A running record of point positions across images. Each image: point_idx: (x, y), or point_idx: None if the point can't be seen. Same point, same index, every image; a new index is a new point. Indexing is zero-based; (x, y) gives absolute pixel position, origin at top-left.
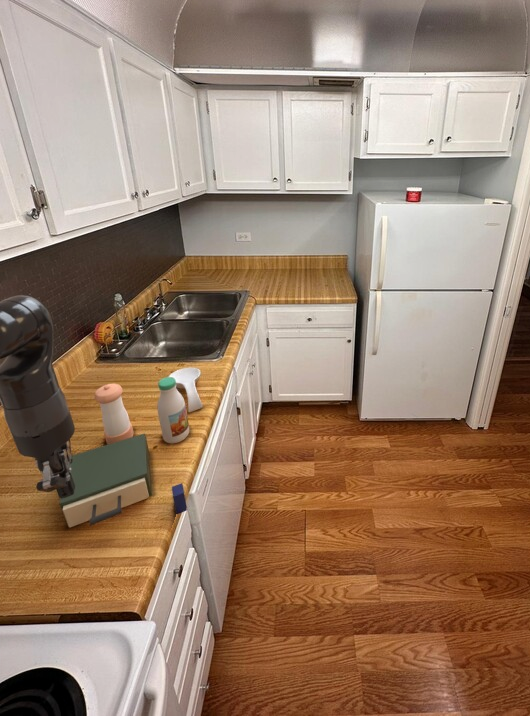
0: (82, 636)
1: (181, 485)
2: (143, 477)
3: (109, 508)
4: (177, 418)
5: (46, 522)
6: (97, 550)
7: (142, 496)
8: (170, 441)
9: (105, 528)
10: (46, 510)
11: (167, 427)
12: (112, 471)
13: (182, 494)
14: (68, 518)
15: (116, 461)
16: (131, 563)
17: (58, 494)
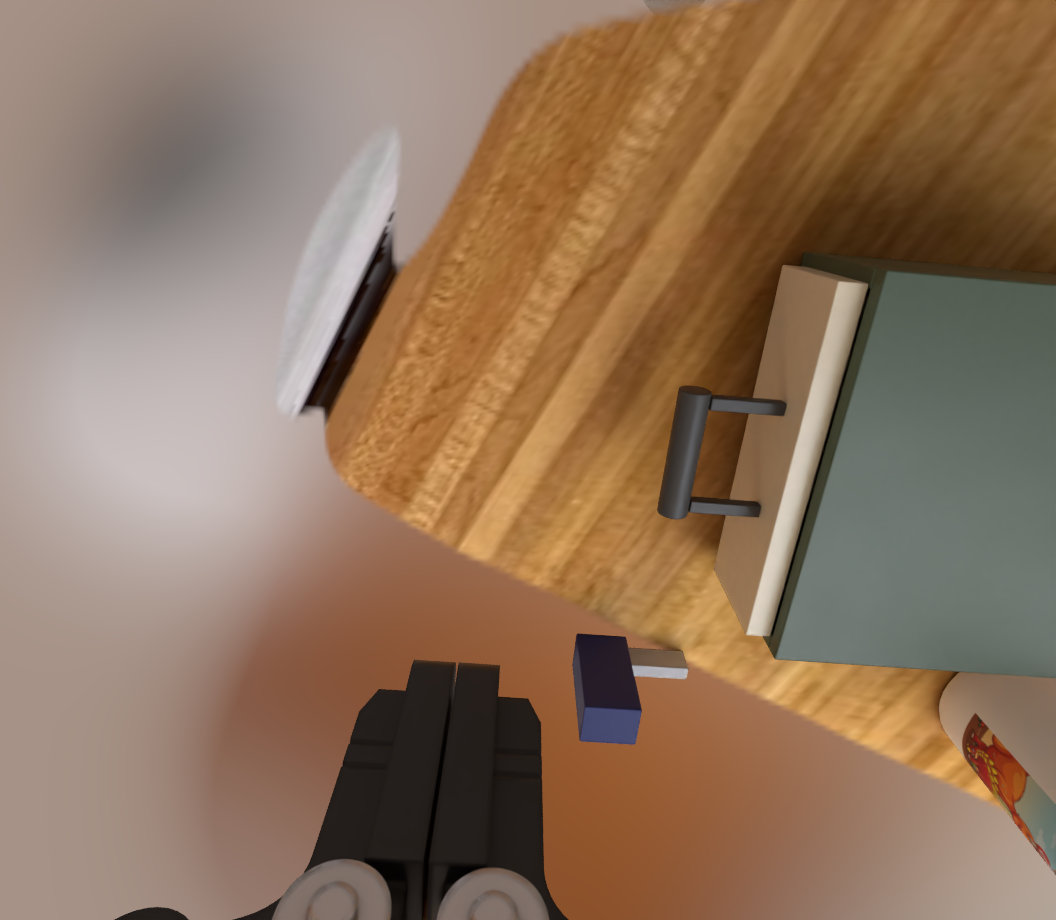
0: (293, 324)
1: (623, 740)
2: None
3: (752, 439)
4: (1036, 835)
5: (906, 148)
6: (599, 370)
7: (723, 561)
8: (966, 682)
9: None
10: (989, 140)
11: (1032, 752)
12: (916, 525)
13: (579, 732)
14: (803, 283)
15: (977, 545)
16: (471, 480)
17: (405, 702)
